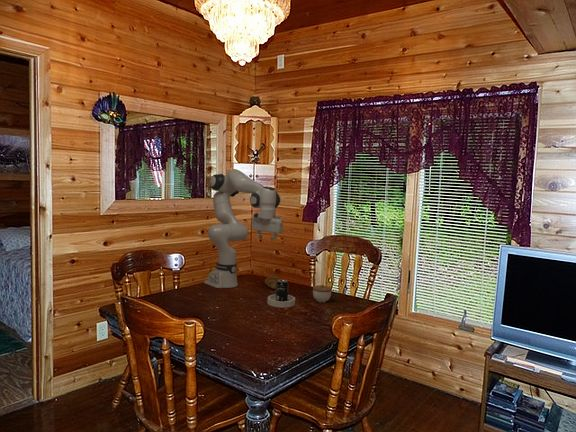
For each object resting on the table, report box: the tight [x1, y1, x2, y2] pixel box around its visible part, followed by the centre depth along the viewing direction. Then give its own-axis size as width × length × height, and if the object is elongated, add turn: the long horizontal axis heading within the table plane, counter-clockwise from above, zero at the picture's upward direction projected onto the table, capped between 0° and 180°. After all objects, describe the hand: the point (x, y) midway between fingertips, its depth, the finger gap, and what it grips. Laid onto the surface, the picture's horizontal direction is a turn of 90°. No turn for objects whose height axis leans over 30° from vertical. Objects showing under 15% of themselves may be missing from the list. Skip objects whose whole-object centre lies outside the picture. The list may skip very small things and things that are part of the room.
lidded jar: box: [312, 284, 332, 303], centre depth 240 cm, size 11×11×9 cm
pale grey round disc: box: [266, 293, 296, 308], centre depth 232 cm, size 15×15×3 cm
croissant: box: [264, 274, 281, 290], centre depth 269 cm, size 21×10×8 cm, turn 5°
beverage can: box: [275, 278, 289, 302], centre depth 231 cm, size 7×7×12 cm
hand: (266, 239), depth 238 cm, fingers open, 8 cm apart
